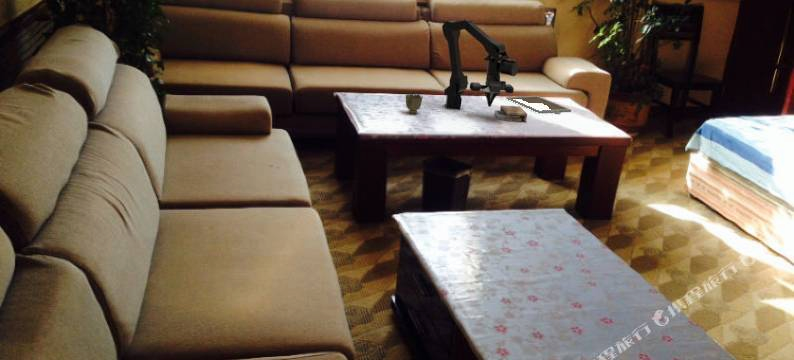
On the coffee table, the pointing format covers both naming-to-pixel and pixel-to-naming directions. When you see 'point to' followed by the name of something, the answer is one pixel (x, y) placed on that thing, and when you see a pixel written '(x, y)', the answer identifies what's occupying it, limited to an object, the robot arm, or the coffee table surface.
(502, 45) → the robot arm
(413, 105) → the cup
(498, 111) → the grey shallow tray
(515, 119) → the overhang
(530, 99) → the grey picture frame
